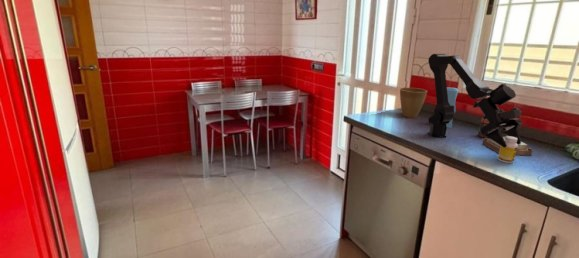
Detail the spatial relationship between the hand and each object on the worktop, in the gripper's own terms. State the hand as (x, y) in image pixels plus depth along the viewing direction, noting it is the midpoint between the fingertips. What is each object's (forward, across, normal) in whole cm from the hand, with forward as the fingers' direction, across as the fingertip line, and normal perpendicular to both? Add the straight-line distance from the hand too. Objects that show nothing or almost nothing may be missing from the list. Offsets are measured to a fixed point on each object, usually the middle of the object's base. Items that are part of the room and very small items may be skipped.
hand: (512, 145), depth 124 cm
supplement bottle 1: (-12, +22, +22) cm, 33 cm away
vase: (-27, +18, +37) cm, 50 cm away
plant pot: (-42, +15, +52) cm, 68 cm away
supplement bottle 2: (+4, 0, +6) cm, 7 cm away
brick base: (-2, +14, +11) cm, 18 cm away
